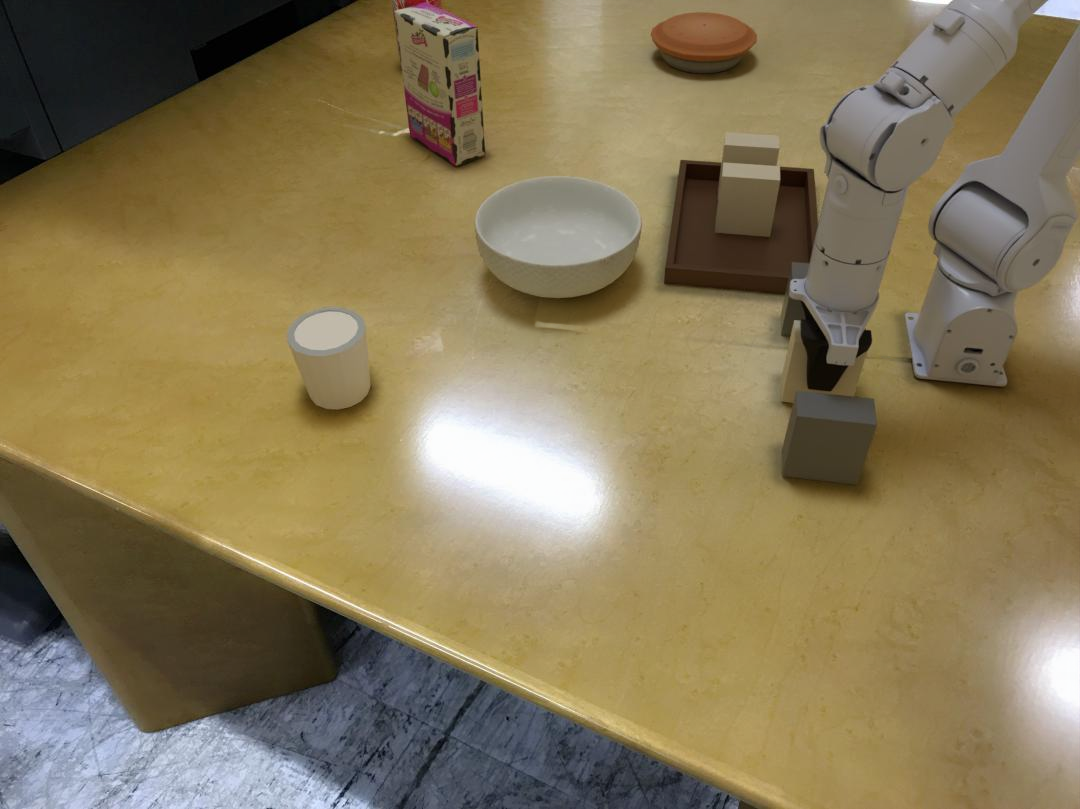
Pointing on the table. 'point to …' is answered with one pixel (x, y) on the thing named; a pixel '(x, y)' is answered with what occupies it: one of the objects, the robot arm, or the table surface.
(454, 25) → the candy bar box
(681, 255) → the book tray
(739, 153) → the white book
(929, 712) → the table surface
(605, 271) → the cereal bowl
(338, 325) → the white cup
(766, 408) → the table surface
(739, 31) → the pie
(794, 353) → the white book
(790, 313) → the gray rectangular block
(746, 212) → the white book
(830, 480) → the grey book
